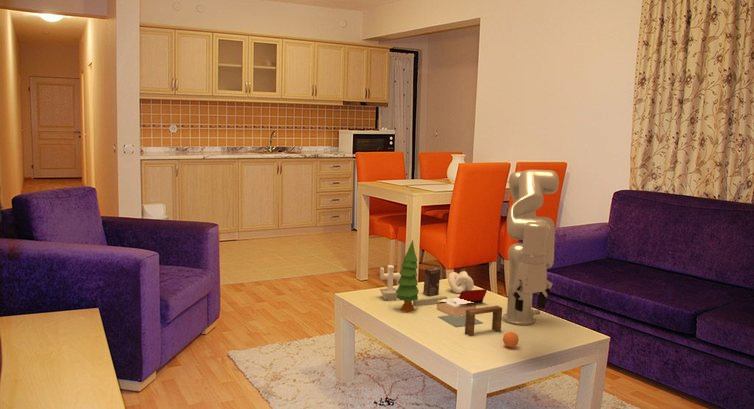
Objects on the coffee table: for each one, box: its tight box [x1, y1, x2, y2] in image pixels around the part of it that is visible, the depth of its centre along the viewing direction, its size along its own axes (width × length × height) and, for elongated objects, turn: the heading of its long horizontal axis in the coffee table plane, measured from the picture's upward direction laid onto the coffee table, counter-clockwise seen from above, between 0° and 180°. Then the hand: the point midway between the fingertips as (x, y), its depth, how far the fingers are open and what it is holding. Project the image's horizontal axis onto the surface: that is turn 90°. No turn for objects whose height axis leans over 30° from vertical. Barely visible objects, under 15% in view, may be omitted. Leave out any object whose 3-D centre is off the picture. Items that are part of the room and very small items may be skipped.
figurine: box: [379, 264, 401, 301], centre depth 267 cm, size 7×9×15 cm
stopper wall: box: [412, 295, 448, 308], centre depth 262 cm, size 16×2×2 cm, turn 117°
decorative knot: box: [447, 270, 475, 294], centre depth 282 cm, size 11×12×9 cm
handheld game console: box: [458, 288, 488, 304], centre depth 265 cm, size 12×11×7 cm
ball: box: [502, 331, 520, 348], centre depth 214 cm, size 6×6×6 cm
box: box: [422, 267, 441, 297], centre depth 275 cm, size 6×4×12 cm
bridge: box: [464, 305, 503, 337], centre depth 228 cm, size 3×14×9 cm, turn 117°
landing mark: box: [437, 314, 484, 328], centre depth 242 cm, size 13×13×1 cm
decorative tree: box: [396, 239, 419, 313], centre depth 250 cm, size 10×9×30 cm
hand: (530, 308), depth 204 cm, fingers open, 9 cm apart
